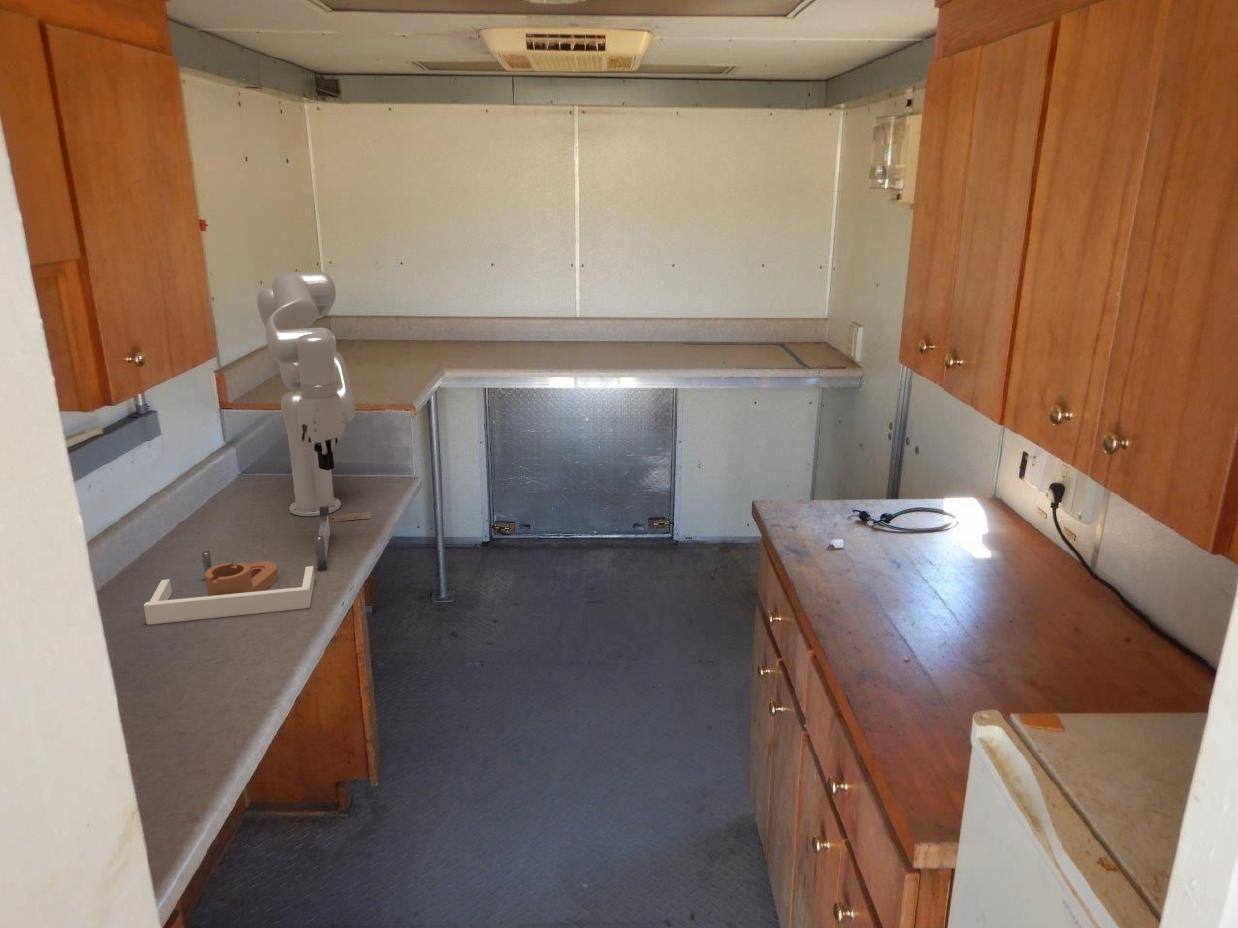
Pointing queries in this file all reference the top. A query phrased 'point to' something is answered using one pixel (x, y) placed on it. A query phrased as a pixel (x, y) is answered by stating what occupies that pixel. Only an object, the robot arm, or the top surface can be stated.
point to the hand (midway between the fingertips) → (326, 468)
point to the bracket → (240, 578)
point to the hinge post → (320, 553)
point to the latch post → (206, 561)
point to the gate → (325, 526)
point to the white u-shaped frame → (226, 602)
